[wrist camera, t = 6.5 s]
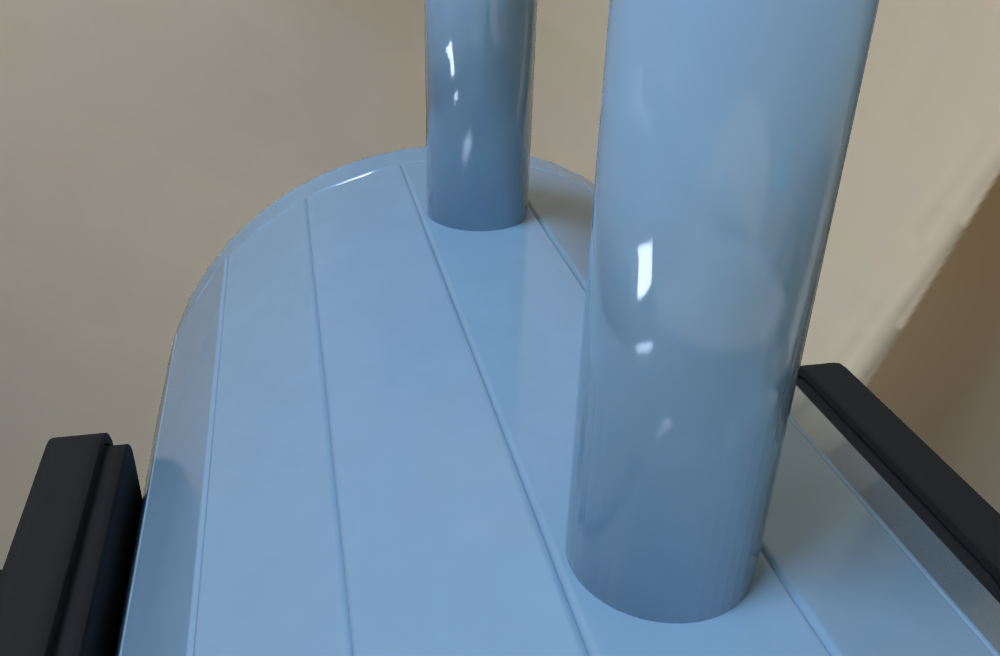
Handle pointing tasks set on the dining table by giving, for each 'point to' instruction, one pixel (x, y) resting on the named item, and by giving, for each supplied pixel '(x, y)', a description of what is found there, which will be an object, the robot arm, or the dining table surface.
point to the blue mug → (545, 379)
